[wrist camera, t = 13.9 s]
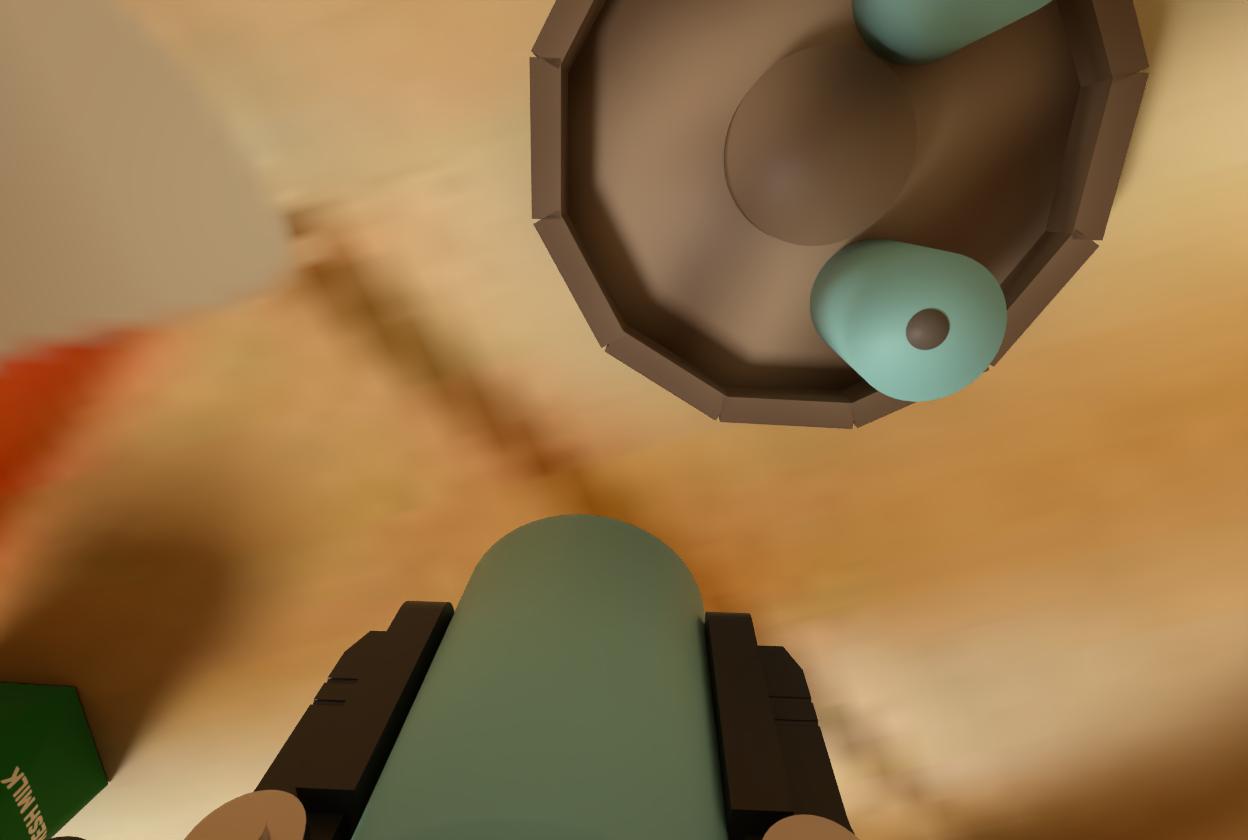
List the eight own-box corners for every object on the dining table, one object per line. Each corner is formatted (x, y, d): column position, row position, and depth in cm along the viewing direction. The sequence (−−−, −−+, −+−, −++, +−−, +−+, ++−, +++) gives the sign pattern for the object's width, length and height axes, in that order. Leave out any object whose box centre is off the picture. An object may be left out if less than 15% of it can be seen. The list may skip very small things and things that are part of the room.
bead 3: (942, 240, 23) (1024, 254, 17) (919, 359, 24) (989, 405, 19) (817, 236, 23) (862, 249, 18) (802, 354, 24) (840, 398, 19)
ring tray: (1210, 55, 21) (1281, 37, 19) (847, 485, 27) (865, 513, 25) (742, -322, 19) (754, -400, 16) (457, 240, 25) (434, 245, 22)
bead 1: (752, 589, 11) (837, 944, 6) (626, 744, 13) (607, 1137, 7) (533, 470, 11) (418, 753, 5) (426, 648, 12) (255, 1007, 7)
